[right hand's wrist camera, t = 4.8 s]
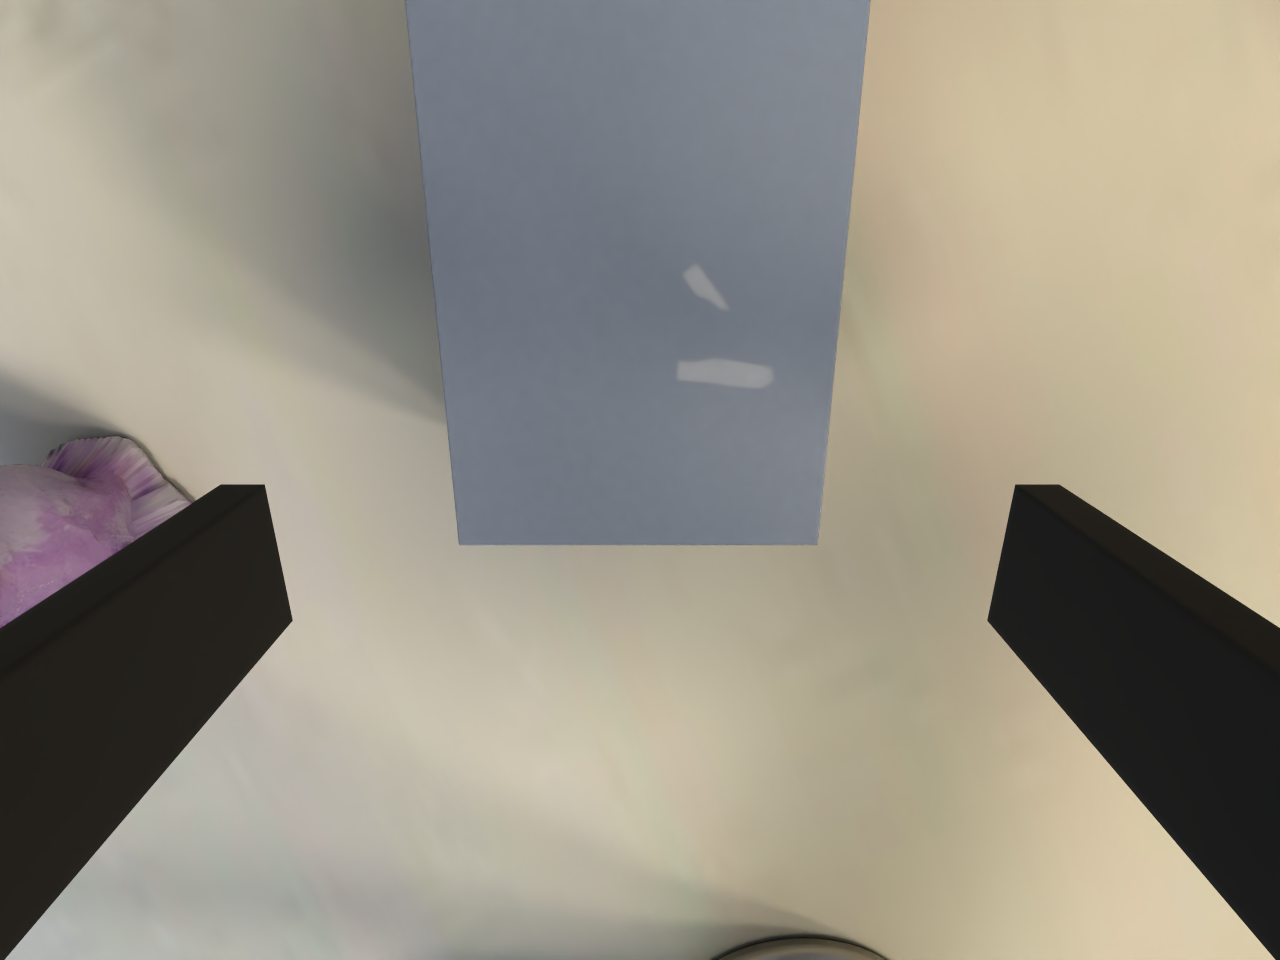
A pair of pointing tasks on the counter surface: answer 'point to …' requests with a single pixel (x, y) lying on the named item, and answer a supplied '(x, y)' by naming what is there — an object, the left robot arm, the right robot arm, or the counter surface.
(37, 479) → the figurine
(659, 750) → the counter surface
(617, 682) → the counter surface
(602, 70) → the cabinet
